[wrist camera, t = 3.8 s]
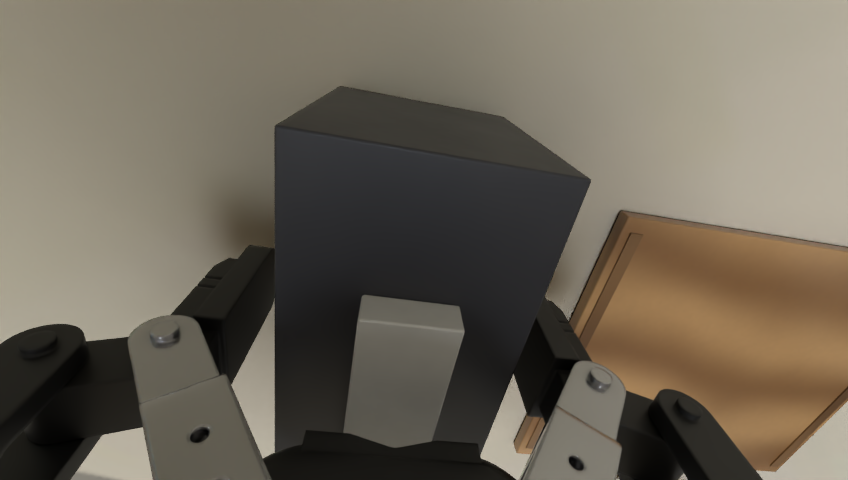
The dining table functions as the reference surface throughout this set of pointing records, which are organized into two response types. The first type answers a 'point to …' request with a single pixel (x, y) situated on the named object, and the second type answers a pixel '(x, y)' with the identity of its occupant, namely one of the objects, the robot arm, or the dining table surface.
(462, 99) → the dining table surface
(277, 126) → the tissue box
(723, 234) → the wooden cutting board
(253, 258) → the robot arm
